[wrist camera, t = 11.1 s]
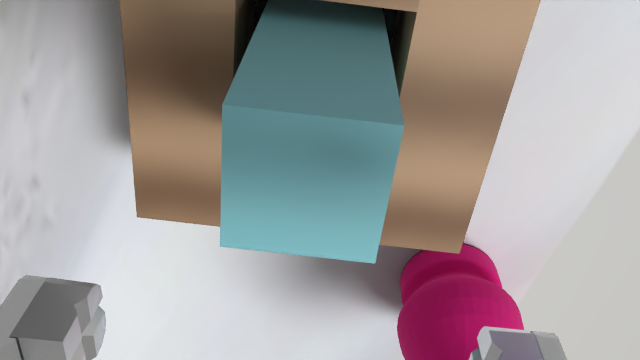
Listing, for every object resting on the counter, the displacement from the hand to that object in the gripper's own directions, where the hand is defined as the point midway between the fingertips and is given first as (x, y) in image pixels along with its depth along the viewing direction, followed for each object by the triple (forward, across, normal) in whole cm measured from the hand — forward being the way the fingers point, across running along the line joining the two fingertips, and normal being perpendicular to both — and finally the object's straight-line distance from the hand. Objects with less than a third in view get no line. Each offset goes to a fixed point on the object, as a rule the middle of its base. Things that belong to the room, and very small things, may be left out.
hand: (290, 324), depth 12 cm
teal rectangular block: (+19, 0, 0) cm, 19 cm away
